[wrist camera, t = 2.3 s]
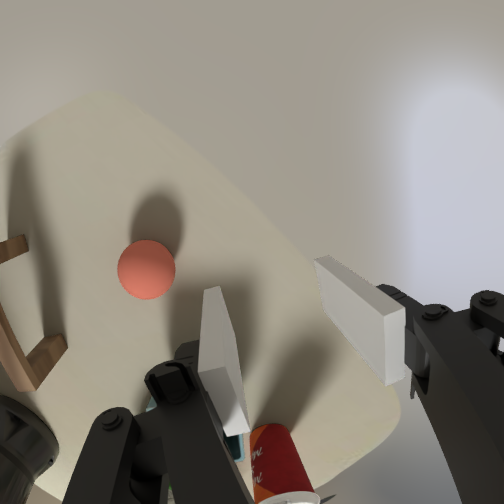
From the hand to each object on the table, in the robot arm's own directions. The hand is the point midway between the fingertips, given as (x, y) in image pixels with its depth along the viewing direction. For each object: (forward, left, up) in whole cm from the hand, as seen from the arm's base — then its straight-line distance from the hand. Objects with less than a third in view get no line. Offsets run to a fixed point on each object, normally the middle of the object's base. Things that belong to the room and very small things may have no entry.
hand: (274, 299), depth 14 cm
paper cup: (-4, -28, -17) cm, 33 cm away
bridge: (-26, 0, -17) cm, 30 cm away
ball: (-10, 0, -14) cm, 17 cm away
